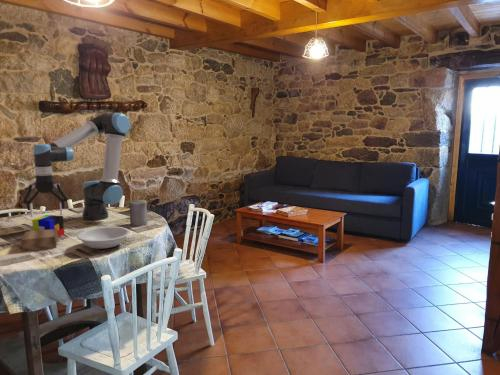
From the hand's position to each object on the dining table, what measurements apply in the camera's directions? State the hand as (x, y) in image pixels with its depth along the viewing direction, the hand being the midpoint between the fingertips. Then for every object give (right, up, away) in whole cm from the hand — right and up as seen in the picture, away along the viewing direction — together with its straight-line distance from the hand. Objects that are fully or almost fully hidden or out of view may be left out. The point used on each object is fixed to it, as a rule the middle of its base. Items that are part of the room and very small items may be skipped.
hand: (46, 215), depth 199 cm
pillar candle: (+40, -7, +26) cm, 48 cm away
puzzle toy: (0, -11, +2) cm, 12 cm away
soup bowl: (+35, -14, -13) cm, 40 cm away
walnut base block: (+4, -14, -12) cm, 19 cm away
